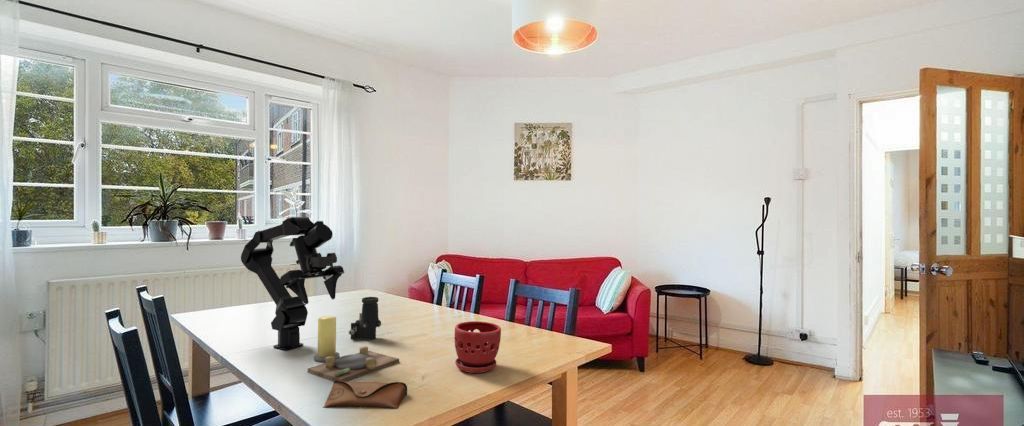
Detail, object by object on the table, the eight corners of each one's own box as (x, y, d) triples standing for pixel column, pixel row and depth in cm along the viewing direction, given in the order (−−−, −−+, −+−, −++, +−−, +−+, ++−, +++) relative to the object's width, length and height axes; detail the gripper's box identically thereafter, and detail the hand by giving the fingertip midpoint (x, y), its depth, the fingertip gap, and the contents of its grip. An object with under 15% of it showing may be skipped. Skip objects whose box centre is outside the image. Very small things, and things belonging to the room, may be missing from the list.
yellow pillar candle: (309, 359, 137) (309, 318, 137) (329, 353, 143) (330, 314, 142) (323, 363, 133) (323, 322, 133) (344, 357, 139) (344, 317, 139)
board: (307, 372, 126) (307, 359, 126) (367, 353, 143) (367, 342, 143) (341, 383, 118) (342, 370, 118) (400, 362, 135) (400, 350, 135)
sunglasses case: (319, 408, 103) (325, 377, 107) (329, 412, 109) (334, 382, 113) (400, 408, 104) (403, 377, 107) (405, 413, 110) (408, 383, 113)
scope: (359, 295, 164) (386, 296, 163) (359, 334, 164) (385, 335, 163) (347, 299, 156) (375, 301, 155) (347, 340, 156) (375, 342, 155)
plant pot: (464, 379, 122) (464, 334, 122) (447, 364, 134) (448, 322, 134) (508, 371, 128) (508, 328, 128) (488, 358, 140) (489, 318, 140)
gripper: (293, 245, 132) (308, 296, 129) (347, 242, 148) (361, 287, 144) (273, 260, 137) (286, 310, 134) (327, 256, 153) (340, 300, 150)
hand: (320, 301), depth 140 cm, fingers open, 9 cm apart
